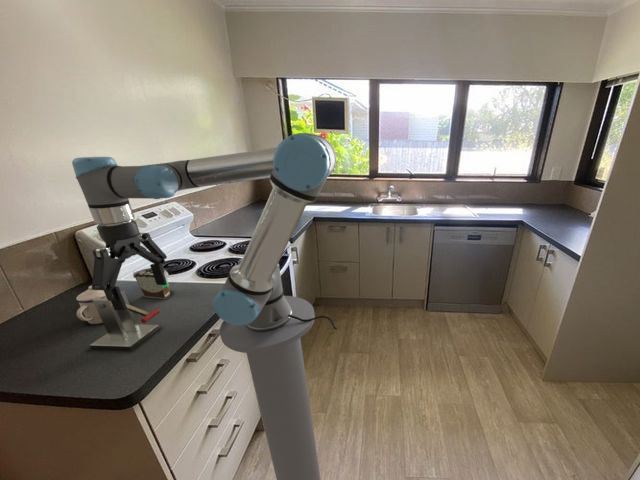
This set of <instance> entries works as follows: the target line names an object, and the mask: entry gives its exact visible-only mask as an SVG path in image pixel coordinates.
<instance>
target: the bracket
mask: <svg viewBox="0 0 640 480" xmlns="http://www.w3.org/2000/svg"><path fill="white" fill-rule="evenodd" d="M120 292H121V294H122V297H123V299H124V302H125V303H126V304H128V305H131V304H130V302H129V300H128V297H127V295H126V292H125V291H124V290H120ZM93 302H94V304H95V306H96V309H97V311H98V313H99V315H100V317H101V320H102V322H103V323H102V324H103V326H104V328H105V330H106V333H105V334H104V335H103V336H101V337H100V338H98V339H96V340H95V341H94V342H92V343H91V344H89V347H90V349H91V350H98V351H99V350H103V351H133V350H135V349H136V348H138V346H140V345H142V344H143V343H144V342H145V341H146V340H148V339H149V338H150V337H151V336H153V334H155V333H156V332H157V331H158V330H160V326H159V324H139V323H138V322H137V319H136V317H135V313H134V312H131V311H128V310H114V307H113V305H112V302H111V301H109V300H107V298H95V299H94V300H93Z"/></svg>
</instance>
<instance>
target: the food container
mask: <svg viewBox="0 0 640 480" xmlns="http://www.w3.org/2000/svg"><path fill="white" fill-rule="evenodd" d="M132 275H133V279H134V278H135V280H136V283H137V285H138V287H139V289H140V291H141V294H142V295H143V298H151V299H161V300H166V299H169V297H170V296H171V290H170V285H169V280H168V277H169V273H168V271H167V270H166V269H165V268H164V275H165V278H166V281H167V284H166V285H157V284H156V281H155V278H154V275H153V272H152V269H151V267H149V268H143V269H139V270H137V271H134V272H132Z"/></svg>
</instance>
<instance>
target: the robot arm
mask: <svg viewBox="0 0 640 480" xmlns="http://www.w3.org/2000/svg"><path fill="white" fill-rule="evenodd" d="M71 164H72V168H73V171H74V174H75V179H76V180H77V182H78V185H79V187H80V189H81V192H82V194H83V196H84V199H85V201H86V203H87V206H88V209H89V211H90V212H89V213H90V214H91V217H92V219H93V222H94V223H95V224H97V226H96V230H97V232H98V234H99V237H100V239H101V240H102V241H103V242H104V244H105V247H102V248H94V249H92V254H93V255H92V256H93V257H94V262H93V271H92V281H91V282H92V283H91V286H92V290H103V291H104V293H105V295H106V297H107V300H109V301H111V302H112V305H113V307H114V310H126V309H127V307H126V304H125V302H124V299H123V297H122V294H121V292H120V291H121V289H120V287H119V286H116V283H117V281H118V277H119V274H120V271H121V269H122V265H123V263H125V262H126V260H127V259H130V258H131V257H133V256H137V255H138V256H139V257H141V258H142V259H145V260H146V261H148V262H150V263H151V264H150V268H151V269H152V272H153V275H154V278H155V281H156V284H157V285H166V284H167V281H166V278H165V275H164V269H165V268H164V265H163V264H166V259H167V258H168V256H167V254H166V253H165V252H164V251H163V250H162V249H161V248H160V247H159V246H158V244H157V243H156V242H155V241H154V240H153V239H152V237H151V234H150V233H149V232H140V229H139V225H138V223H137V221H136V220H134V219H136V218H135V214H134V212H133V208H132V205H131V203H130V200H129V199H152V200H160V199H170V198H173V197H174V196H175V194H176V193H177V192H179V191H183V190H188V189H189V190H191V189H198V188H203V187H210V186H219V185H226V184H234V183H235V184H236V183H242V182H250V181H257V180H264V179H269V182H270V185H271V187H272V190H271V192H270V194H269V197H268V199H267V201H266V204H265V206H264V208H263V210H262V213H261V215H260V217H259V219H258V222H257V224H256V227H255V229H254V231H253V233H252V236H251V238H250V241H249V242H248V245H247V247H246V250H245V252H244V254H243V257H242V258H240V259H239V260H238V261H237V264H236V265H234V266H232V268H231V269H230V271H229V273H228V276H227V278H226V280H225V282H224V284H223V287H222V288H221V290H218V292H217V293H216V294H215V296H214V297H213V300H212V309H213V311H214V313H216V315H217V317H219V319H221V320H222V321H225V322H227V323H230V324H233V325H246V327H247V328H248V329H249V330H252V331H256V332H265V331H271V330H274V329H277V328H279V327H281V326H283V325H285V324H286V323H287V322H288V321H289V320H290V319H291V317H292V318H295V319H298V320H300V321H304V322H307V321H312V320H314V321H315V320H317V319H321V318H323V319H327V320H328V321H329V322H330V323H331V326H332V327H333V329H334V330H335V331H336V330H338V328H337V327H336V325H335V322H334V321H333V319H332V318H331V317H330V316H328V315H319V316H318V315H317V316H315V317H314V318H312V319H307V320H304V319H301V318H298V317H295V316H292V310H291V307H290V305H289V304H288V302H287V300H286V299H285V297H284V296H285V294H284V288H283V283H282V277H281V270H280V269H281V268H280V264H279V263H280V261H281V258H282V256H283V254H284V252H285V250H286V249H287V246H288V244H289V242H290V240H291V238H292V236H293V234H294V232H295V230H296V228H297V225H298V223H299V221H300V219H301V217H302V215H303V213H304V211H305V209H306V207H307V205H308V204H312V203H315V202H316V201H317V199H318V197H319V195H320V193H321V190H322V189H323V187H324V185H325V183H326V181H327V179H328V178H329V177H330V175H332V173H333V172H334V171H335V168H336V164H337V154H336V151H335V149H334V147H333V145H332V144H331V142H330V141H329V140H328V139H326V138H325V137H323V136H322V135H319V134H313V133H308V132H307V133H306V132H298V133H293V134H291V135H289V136H287V137H286V138H285V137H284V139H283V140H282V141H280V142H279V144H278V145H277V146H276V147H271V148H265V149H257V150H250V151H243V152H235V153H227V154H220V155H214V156H206V157H200V158H192V159H185V160H176V161H171V162H163V163H154V164H153V163H152V164H143V165H123V166H122V165H119V164H118V163H117V161H116V160H115V158H114V157H112V156H85V157H84V156H83V157H75V158H73V159H72V161H71ZM141 244H142V245H141Z"/></svg>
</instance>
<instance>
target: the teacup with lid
mask: <svg viewBox="0 0 640 480" xmlns="http://www.w3.org/2000/svg"><path fill="white" fill-rule="evenodd" d="M105 296H106V295H105V293H104V291H103V290H92V285H89V286H88V289H87V290H85V291H83V292H81V293H79V294H78V295H77V296H76V300H75V301H76V303H78V304H79V308H78V309H77V310H76V317H77V318H78V319H79V320H80V321H82V322H87V323H88V324H90V325H98V324H103V322H102V320H101V317H100V315H99V313H98V311H97V309H96V306H95V304H94V302H93V300H94V299H95V298H103V297H105Z"/></svg>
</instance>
